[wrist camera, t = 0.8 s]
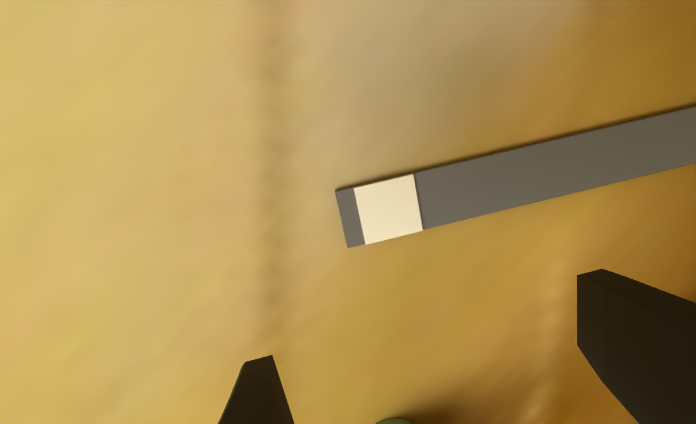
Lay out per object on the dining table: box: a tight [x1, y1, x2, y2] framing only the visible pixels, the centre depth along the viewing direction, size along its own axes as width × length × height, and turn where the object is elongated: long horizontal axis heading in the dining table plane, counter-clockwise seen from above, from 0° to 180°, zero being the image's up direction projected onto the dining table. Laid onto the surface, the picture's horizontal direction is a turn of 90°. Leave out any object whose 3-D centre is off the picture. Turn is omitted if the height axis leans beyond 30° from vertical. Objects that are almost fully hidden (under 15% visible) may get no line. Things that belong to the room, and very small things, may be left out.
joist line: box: [335, 105, 696, 248], centre depth 22 cm, size 2×22×1 cm, turn 102°
